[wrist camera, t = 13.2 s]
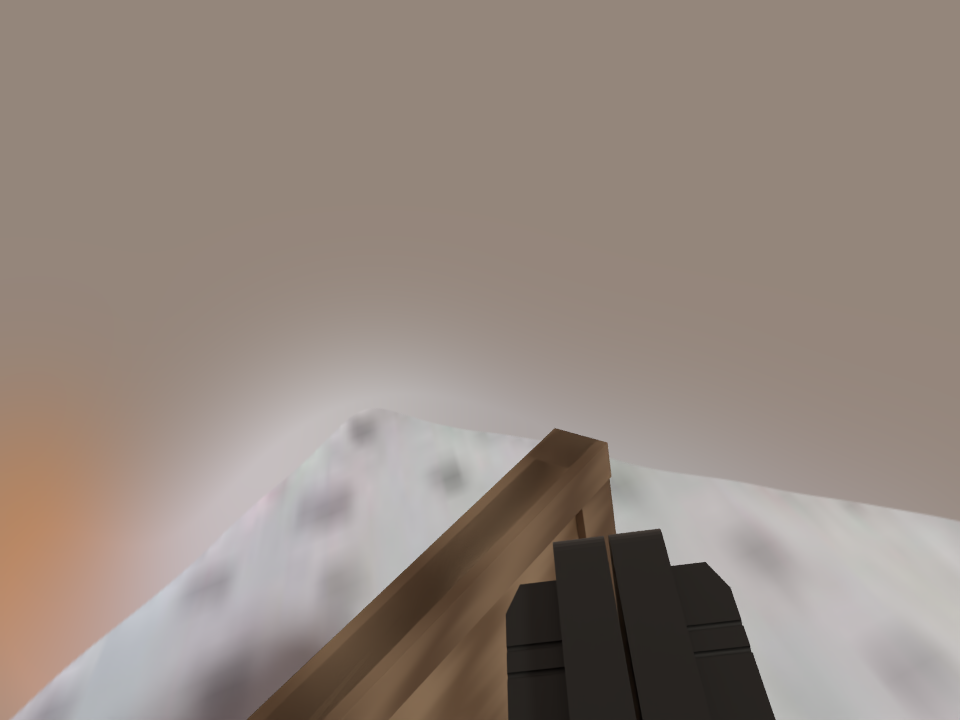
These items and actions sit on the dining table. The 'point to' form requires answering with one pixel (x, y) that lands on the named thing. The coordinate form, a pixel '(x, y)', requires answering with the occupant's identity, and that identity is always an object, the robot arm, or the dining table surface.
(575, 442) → the gate
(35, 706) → the dining table surface
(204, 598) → the dining table surface
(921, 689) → the dining table surface
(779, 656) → the dining table surface
